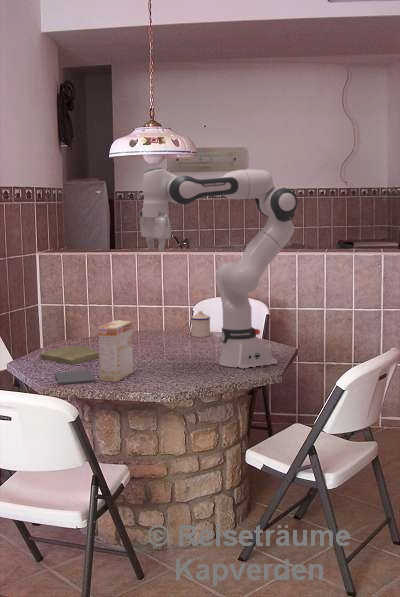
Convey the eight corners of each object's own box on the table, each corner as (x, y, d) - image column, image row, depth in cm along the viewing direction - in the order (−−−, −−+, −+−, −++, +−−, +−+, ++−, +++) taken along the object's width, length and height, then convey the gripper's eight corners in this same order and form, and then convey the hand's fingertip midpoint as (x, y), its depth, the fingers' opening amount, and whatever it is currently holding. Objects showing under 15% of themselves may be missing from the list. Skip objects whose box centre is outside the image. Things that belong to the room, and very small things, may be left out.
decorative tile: (72, 366, 289) (71, 357, 288) (39, 360, 302) (39, 351, 301) (107, 358, 303) (106, 349, 303) (74, 352, 316) (74, 344, 315)
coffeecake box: (116, 371, 277) (114, 320, 275) (134, 372, 275) (132, 320, 272) (99, 380, 263) (97, 326, 260) (117, 382, 261) (115, 327, 258)
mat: (90, 372, 276) (90, 370, 276) (95, 382, 261) (95, 379, 261) (54, 374, 273) (54, 372, 273) (58, 385, 258) (58, 382, 258)
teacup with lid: (212, 334, 350) (212, 310, 349) (207, 338, 342) (206, 313, 340) (188, 333, 354) (188, 309, 352) (182, 336, 345) (182, 312, 344)
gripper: (174, 212, 264) (175, 251, 266) (152, 212, 282) (153, 248, 284) (158, 213, 262) (159, 252, 263) (136, 212, 280) (137, 249, 282)
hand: (155, 250), depth 274 cm, fingers open, 8 cm apart
